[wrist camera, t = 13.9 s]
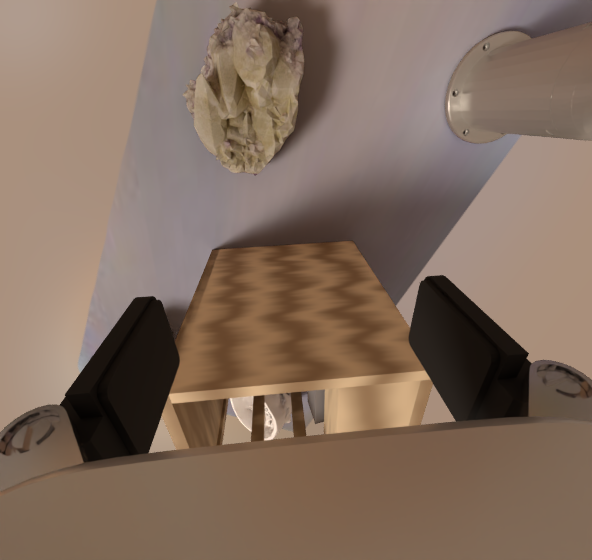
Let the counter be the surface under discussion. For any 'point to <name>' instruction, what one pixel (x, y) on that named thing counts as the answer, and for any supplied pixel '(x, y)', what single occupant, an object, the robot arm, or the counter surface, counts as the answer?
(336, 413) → the zigzag grain wooden box
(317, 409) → the green chalkboard
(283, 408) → the skull bowl
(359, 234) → the counter surface
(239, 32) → the geode
